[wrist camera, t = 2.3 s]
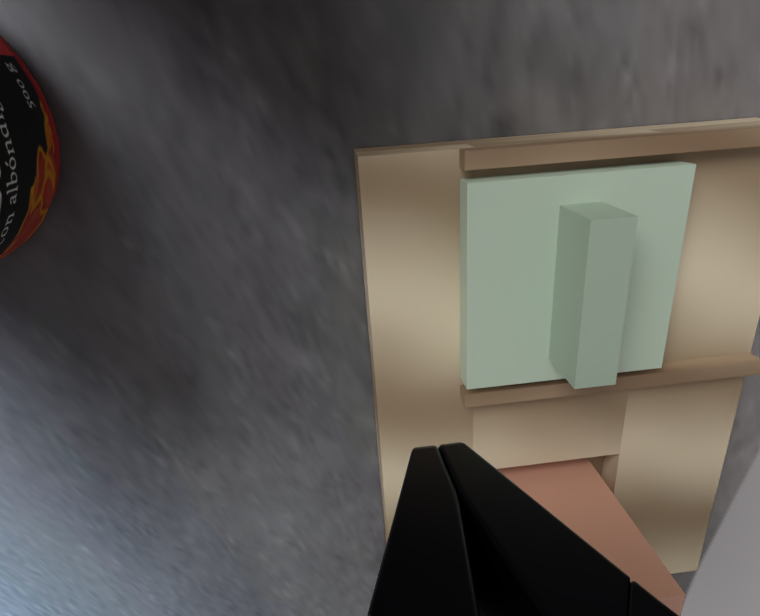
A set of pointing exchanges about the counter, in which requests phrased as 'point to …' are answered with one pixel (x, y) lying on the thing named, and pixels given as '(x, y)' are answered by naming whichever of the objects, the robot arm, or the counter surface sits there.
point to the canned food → (24, 153)
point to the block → (598, 521)
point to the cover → (569, 272)
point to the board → (557, 397)
